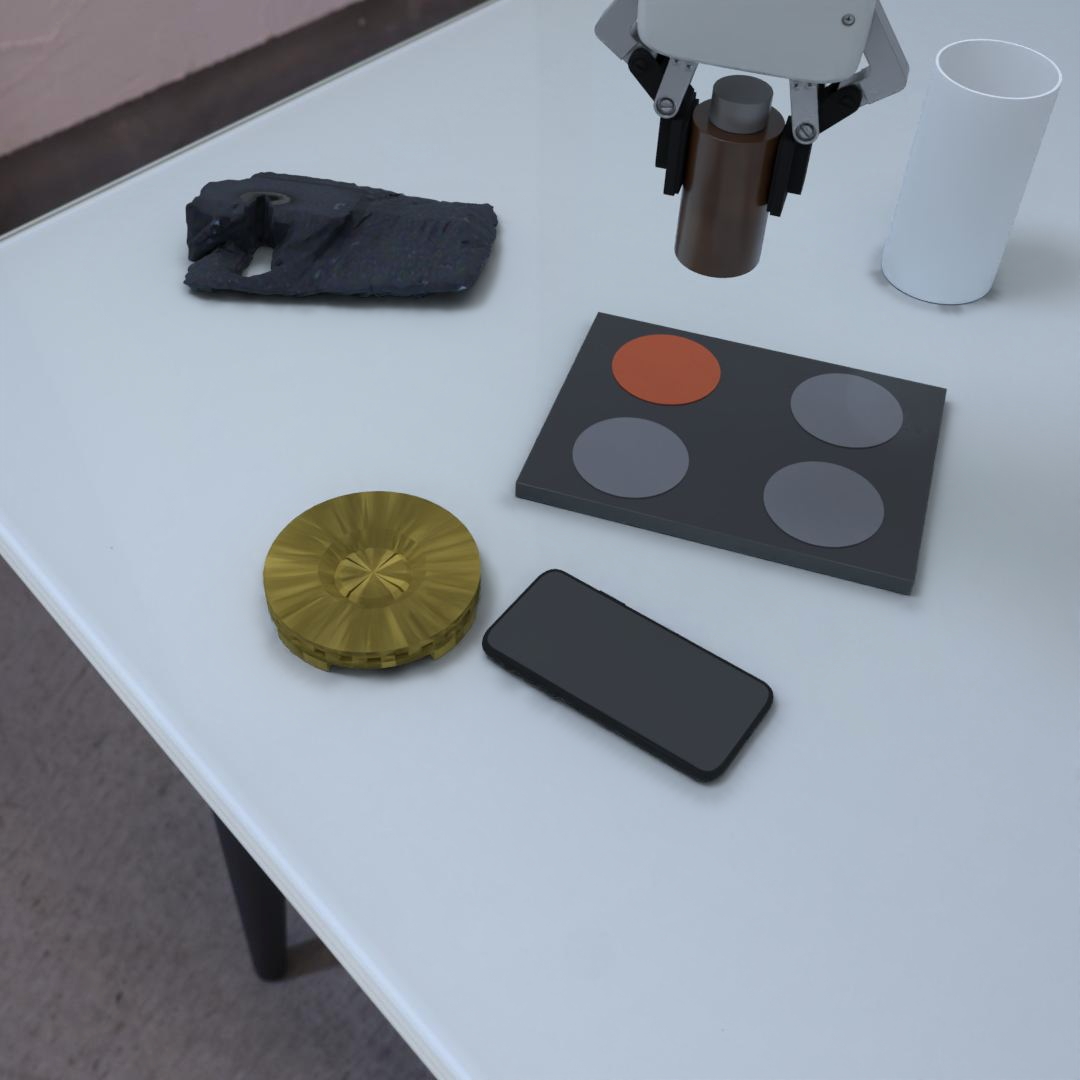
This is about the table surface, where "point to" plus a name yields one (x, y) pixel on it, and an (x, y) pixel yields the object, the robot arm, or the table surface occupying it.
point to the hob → (742, 450)
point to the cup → (968, 168)
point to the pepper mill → (728, 178)
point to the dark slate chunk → (333, 238)
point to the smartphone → (630, 673)
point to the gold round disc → (372, 581)
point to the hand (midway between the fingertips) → (727, 187)
